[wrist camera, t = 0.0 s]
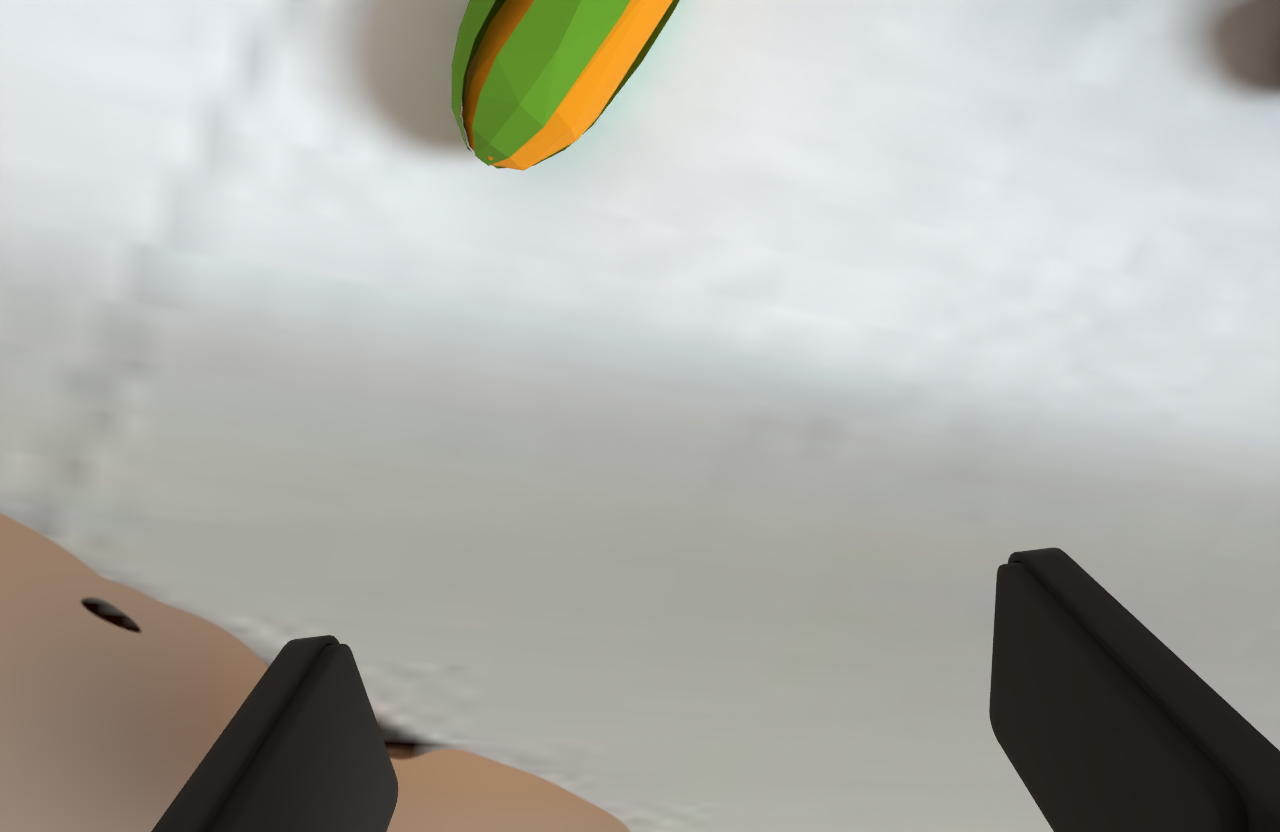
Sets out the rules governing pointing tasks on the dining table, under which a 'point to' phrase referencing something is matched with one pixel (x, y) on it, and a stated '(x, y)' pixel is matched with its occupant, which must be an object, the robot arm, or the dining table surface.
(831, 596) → the dining table surface
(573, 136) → the corn
